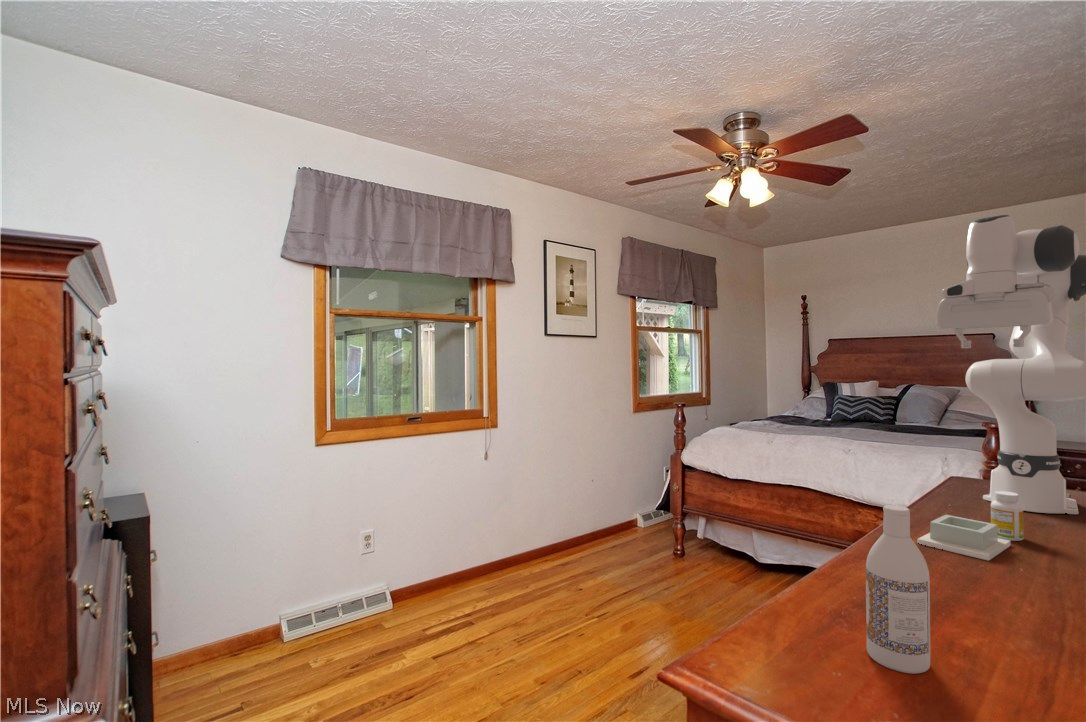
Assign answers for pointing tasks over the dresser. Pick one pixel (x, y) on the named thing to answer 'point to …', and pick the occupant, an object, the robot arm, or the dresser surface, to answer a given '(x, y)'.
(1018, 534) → the supplement bottle
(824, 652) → the dresser surface
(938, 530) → the caddy
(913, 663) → the bath foam
